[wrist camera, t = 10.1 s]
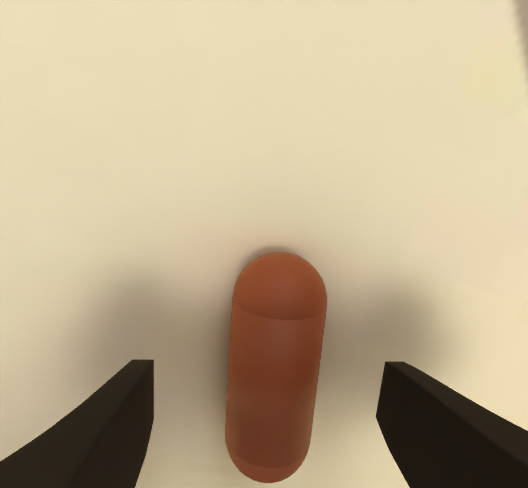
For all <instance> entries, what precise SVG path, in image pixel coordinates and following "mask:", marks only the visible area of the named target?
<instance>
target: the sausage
mask: <svg viewBox="0 0 528 488" xmlns="http://www.w3.org/2000/svg"><path fill="white" fill-rule="evenodd" d="M326 309H327V295H326V289H325V285H324V283H323V280H322V278H321V276H320V275H319V273H318V272H317V271H316V269H315V268H314V267H313V266H312V265H311V264H310V263H309V262H307V261H306V260H304V259H302V258H301V257H299V256H296V255H293V254H289V253H282V252H279V253H269V254H266V255H263V256H261V257H258V258H257V259H255V260H254V261H252V262H251V263H249V264H248V265H247V266H246V267H245V268H244V269H243V271H242V272H241V274H240V276H239V277H238V279H237V282H236V284H235V287H234V292H233V300H232V318H231V336H230V354H229V373H228V391H227V409H226V427H225V437H226V445H227V449H228V452H229V455H230V457H231V459H232V461H233V463H234V464H235V465H236V467H237V468H238V469H239V470H240V472H242V473H243V474H244V475H245V476H247V477H249V478H251V479H253V480H255V481H258V482H262V483H273V482H278V481H282V480H284V479H286V478H288V477H289V476H291V475H292V474H293V473H294V472H295V471H296V470H297V469H298V468H299V467H300V466H301V464H302V463H303V461H304V459H305V457H306V455H307V452H308V448H309V445H310V438H311V430H312V422H313V414H314V406H315V398H316V390H317V382H318V373H319V365H320V357H321V349H322V341H323V333H324V325H325V317H326Z"/></svg>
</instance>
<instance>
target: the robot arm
mask: <svg viewBox="0 0 528 488" xmlns="http://www.w3.org/2000/svg"><path fill="white" fill-rule="evenodd" d="M376 418H377V421H378V424H379V426H380V429H381V431H382V434H383V436H384V439H385V441H386V444H387V446H388V448H389V450H390V452H391V454H392V456H393V458H394V460H395V462H396V463H397V465H398V467H399V469H400V471H401V473H402V474H403V476H404V478H405V480H406V482H407V483H408V485H409V487H410V488H528V431H527V430H525V429H523V428H521V427H519V426H517V425H515V424H513V423H511V422H509V421H507V420H505V419H504V418H502V417H500V416H498V415H496V414H494V413H492V412H491V411H489V410H487V409H485V408H483V407H482V406H480V405H478V404H476V403H475V402H473V401H471V400H470V399H468V398H466V397H464V396H463V395H461V394H459V393H458V392H456V391H454V390H453V389H451V388H449V387H448V386H446V385H444V384H442V383H441V382H439V381H437V380H436V379H434V378H432V377H431V376H429V375H427V374H426V373H424V372H422V371H420V370H419V369H417V368H415V367H413V366H411V365H409V364H407V363H405V362H385V366H384V372H383V378H382V384H381V390H380V395H379V401H378V407H377V413H376ZM153 420H154V360H131V361H130V362H129V363H128V364H127V365H125V366H124V367H123V368H122V369H121V370H120V371H119V372H117V373H116V374H115V375H114V376H113V377H112V378H111V379H110V380H108V381H107V382H106V383H105V384H104V385H103V386H102V387H101V388H99V389H98V390H97V391H96V392H95V393H93V394H92V395H91V396H90V397H89V398H88V399H86V400H85V401H84V402H83V403H82V404H80V405H79V406H78V407H77V408H75V409H74V410H73V411H71V412H70V413H69V414H68V415H66V416H65V417H64V418H62V419H61V420H60V421H59V422H57V423H56V424H55V425H53V426H52V427H51V428H49V429H48V430H47V431H45V432H44V433H43V434H41V435H40V436H38V437H37V438H35V439H34V440H32V441H31V442H30V443H28V444H27V445H25V446H24V447H22V448H20V449H19V450H17V451H16V452H14V453H13V454H11V455H10V456H8V457H7V458H5V459H4V460H2V461H0V488H135V485H136V482H137V479H138V476H139V473H140V470H141V467H142V464H143V461H144V458H145V455H146V451H147V447H148V443H149V438H150V434H151V429H152V425H153Z"/></svg>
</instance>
